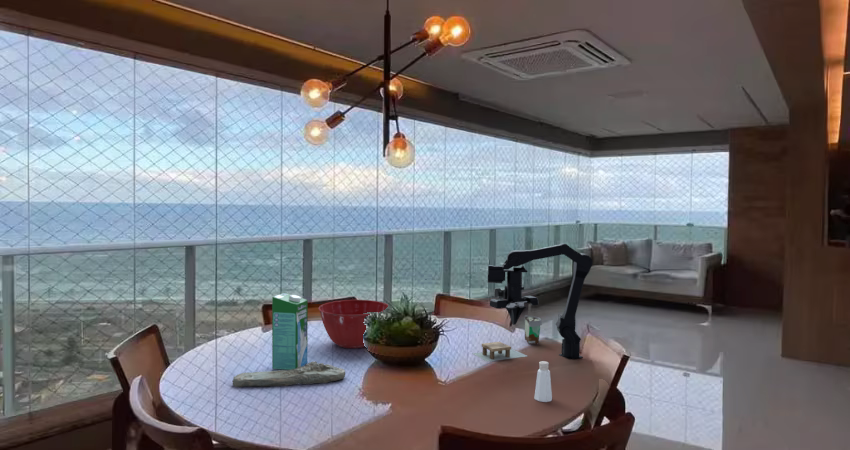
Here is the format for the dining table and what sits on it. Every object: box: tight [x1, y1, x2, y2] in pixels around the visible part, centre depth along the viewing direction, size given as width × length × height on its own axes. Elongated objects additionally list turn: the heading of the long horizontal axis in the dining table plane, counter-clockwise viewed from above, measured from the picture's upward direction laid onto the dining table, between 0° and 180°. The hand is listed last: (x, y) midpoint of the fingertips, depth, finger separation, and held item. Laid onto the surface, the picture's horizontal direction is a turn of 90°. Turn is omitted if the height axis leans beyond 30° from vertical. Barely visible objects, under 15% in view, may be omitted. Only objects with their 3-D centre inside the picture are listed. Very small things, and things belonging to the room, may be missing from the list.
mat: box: [472, 348, 528, 363], centre depth 202 cm, size 11×18×1 cm, turn 115°
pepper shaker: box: [533, 360, 553, 403], centre depth 158 cm, size 5×5×11 cm
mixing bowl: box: [318, 299, 389, 349], centre depth 216 cm, size 28×28×15 cm
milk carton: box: [271, 292, 309, 371], centre depth 186 cm, size 9×9×25 cm
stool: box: [481, 341, 512, 359], centre depth 201 cm, size 8×4×8 cm
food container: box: [524, 315, 543, 345], centre depth 222 cm, size 12×6×10 cm, turn 179°
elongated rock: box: [232, 360, 346, 388], centre depth 171 cm, size 35×5×10 cm
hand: (514, 324), depth 204 cm, fingers closed
